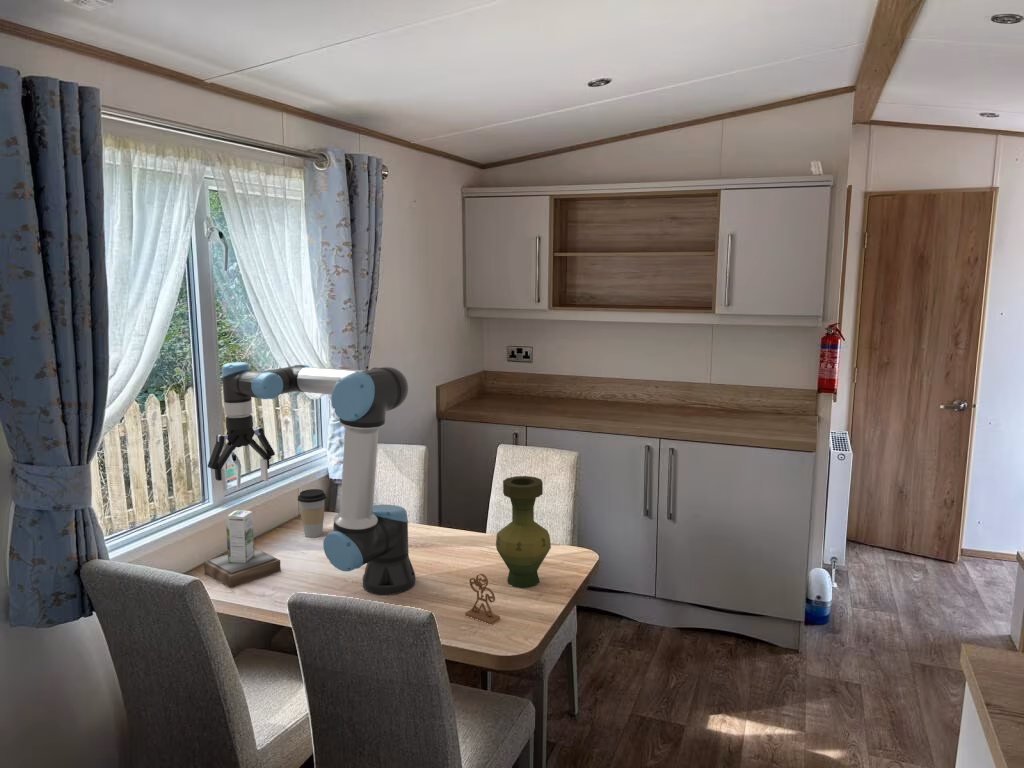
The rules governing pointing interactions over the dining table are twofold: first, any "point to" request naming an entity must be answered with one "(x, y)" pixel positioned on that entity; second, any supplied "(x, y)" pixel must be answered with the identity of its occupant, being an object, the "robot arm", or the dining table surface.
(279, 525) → the dining table surface
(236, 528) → the syrup box
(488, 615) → the gingerbread man figurine
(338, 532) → the robot arm
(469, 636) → the dining table surface
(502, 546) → the vase
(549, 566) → the dining table surface
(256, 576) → the stand
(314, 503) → the coffee cup
